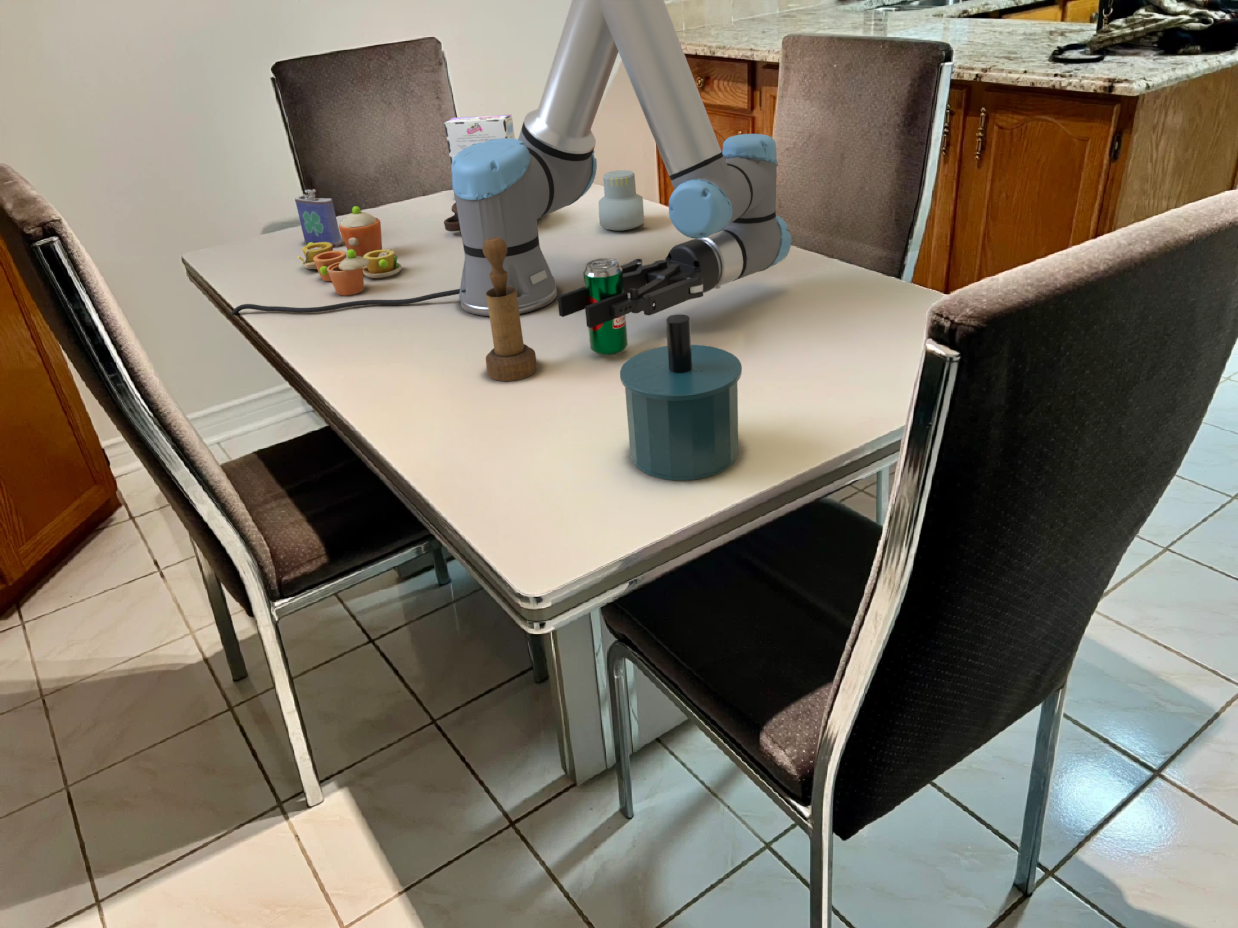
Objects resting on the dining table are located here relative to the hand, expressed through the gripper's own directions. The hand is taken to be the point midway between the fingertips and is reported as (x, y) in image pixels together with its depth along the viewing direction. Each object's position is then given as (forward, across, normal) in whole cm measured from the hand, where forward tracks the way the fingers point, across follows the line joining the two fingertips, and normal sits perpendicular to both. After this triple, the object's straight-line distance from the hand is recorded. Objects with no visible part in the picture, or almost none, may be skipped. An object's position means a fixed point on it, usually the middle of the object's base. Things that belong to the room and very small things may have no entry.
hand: (574, 311), depth 120 cm
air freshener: (-46, +44, -8) cm, 64 cm away
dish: (-32, +66, -8) cm, 74 cm away
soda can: (-5, 0, -7) cm, 9 cm away
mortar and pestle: (+7, +6, -8) cm, 12 cm away
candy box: (-45, +89, -8) cm, 100 cm away
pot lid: (+7, -27, +2) cm, 28 cm away
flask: (-3, +86, -8) cm, 86 cm away
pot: (+7, -27, -8) cm, 29 cm away
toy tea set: (+1, +63, -8) cm, 64 cm away
